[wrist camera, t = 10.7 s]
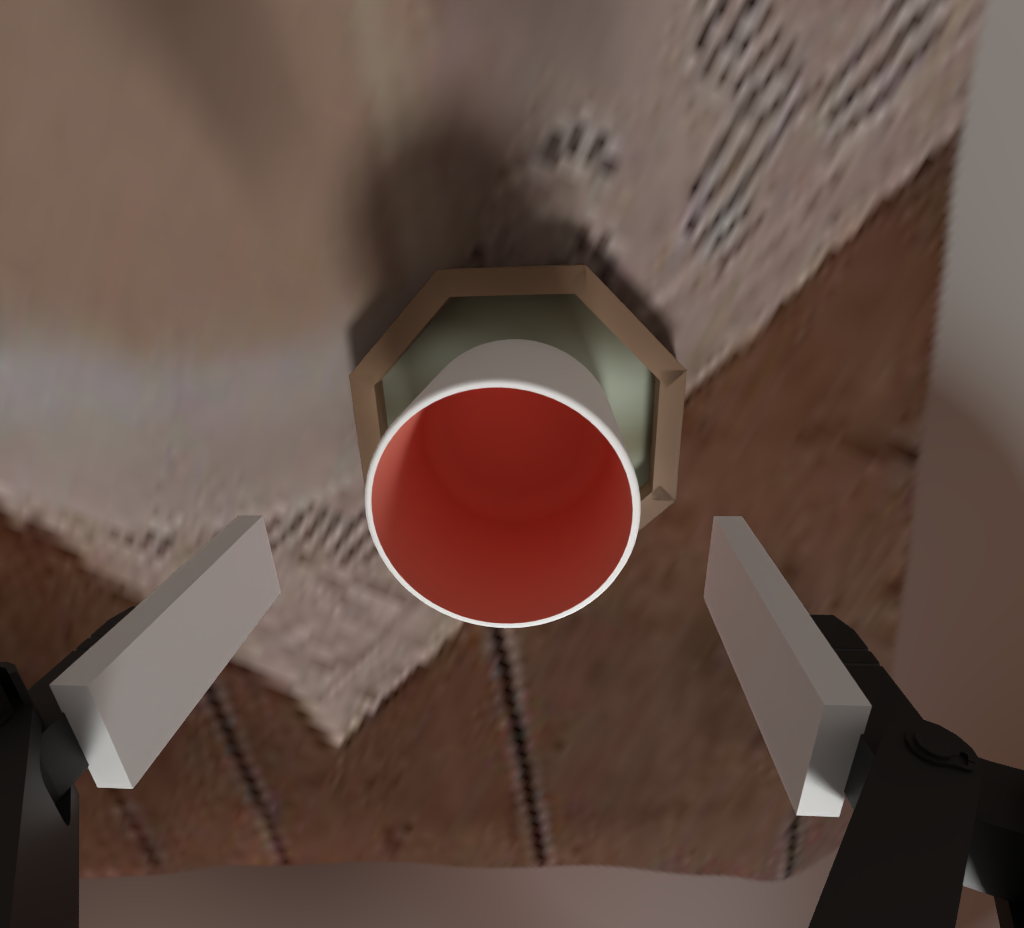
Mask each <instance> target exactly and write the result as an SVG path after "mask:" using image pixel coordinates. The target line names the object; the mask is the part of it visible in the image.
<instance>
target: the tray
mask: <svg viewBox="0 0 1024 928" xmlns="http://www.w3.org/2000/svg"><path fill="white" fill-rule="evenodd" d="M506 339H523V340H531V341H537V342H541V343H544V344H548V345H550V346H553V347H556V348H558V349H560V350H562V351H564V352H566V353H567V354H569V355H570V356H572V357H573V358H575V359H576V360H577V361H579V362H580V363H581V364H582V365H584V366H585V367H586V368H587V369H588V370H589V371H590V372H591V374H592V375H593V376H594V377H595V378H596V380H597V381H598V382H599V384H600V385H601V387H602V389H603V391H604V392H605V394H606V396H607V399H608V401H609V403H610V406H611V409H612V411H613V414H614V417H615V419H616V422H617V424H618V427H619V430H620V432H621V435H622V438H623V440H624V443H625V446H626V448H627V451H628V454H629V456H630V459H631V462H632V464H633V467H634V470H635V473H636V477H637V480H638V485H639V491H640V502H641V514H640V523H639V529H638V531H639V530H640V529H641V528H643V527H644V526H645V525H646V524H648V523H649V522H650V521H651V520H652V519H654V518H655V517H656V516H657V515H658V514H660V513H661V512H662V511H663V510H664V509H666V508H667V507H668V506H669V505H671V504H672V503H673V502H674V501H676V489H677V478H678V466H679V454H680V443H681V431H682V419H683V408H684V396H685V385H686V373H687V370H686V369H685V368H684V367H683V366H682V365H681V364H680V363H679V362H678V361H677V360H676V359H675V357H674V356H673V355H672V354H671V353H670V352H669V351H668V350H667V349H666V348H665V347H664V346H663V345H662V344H661V343H660V342H659V341H658V340H657V339H656V338H655V337H654V336H653V335H652V333H651V332H650V331H649V330H648V329H647V328H646V327H645V326H644V325H643V324H642V323H641V322H640V321H639V320H638V319H637V318H636V317H635V316H634V315H633V314H632V313H631V312H630V310H629V309H628V308H627V307H626V306H625V305H624V304H623V303H622V302H621V301H620V300H619V299H618V298H617V297H616V296H615V295H614V294H613V293H612V292H611V291H610V290H609V289H608V288H607V286H606V285H605V284H604V283H603V282H602V281H601V280H600V279H599V278H598V277H597V276H596V275H595V274H594V273H593V272H592V271H591V270H590V269H589V268H588V267H587V266H586V265H585V264H575V265H544V266H512V267H480V268H448V269H439V270H436V271H435V273H434V274H433V275H432V276H431V278H430V279H429V280H428V281H427V282H426V284H425V285H424V286H423V287H422V288H421V290H420V291H419V292H418V293H417V294H416V296H415V297H414V298H413V299H412V300H411V302H410V303H409V304H408V305H407V306H406V308H405V309H404V310H403V311H402V312H401V314H400V315H399V316H398V317H397V319H396V320H395V321H394V322H393V323H392V325H391V326H390V327H389V328H388V329H387V331H386V332H385V333H384V334H383V335H382V337H381V338H380V339H379V340H378V341H377V343H376V344H375V345H374V346H373V347H372V349H371V350H370V351H369V352H368V354H367V355H366V356H365V357H364V358H363V360H362V361H361V362H360V363H359V364H358V366H357V367H356V368H355V369H354V370H353V372H352V373H351V374H350V375H349V378H350V385H351V392H352V400H353V407H354V414H355V421H356V428H357V435H358V442H359V449H360V457H361V464H362V471H363V478H364V485H365V484H366V478H367V472H368V469H369V465H370V462H371V459H372V456H373V454H374V451H375V449H376V447H377V445H378V443H379V441H380V440H381V438H382V436H383V435H384V433H385V432H386V430H387V429H388V428H389V427H390V425H391V424H392V423H393V422H394V421H395V419H396V418H397V417H398V416H399V415H400V414H401V413H402V412H403V411H404V410H405V409H406V408H407V407H408V406H409V405H410V404H411V403H412V402H413V400H414V399H415V398H416V397H417V396H418V395H419V394H420V393H421V392H422V391H423V390H424V389H425V388H426V387H427V386H428V385H429V384H430V382H431V381H432V380H433V379H434V378H435V377H436V376H437V375H438V374H439V373H440V372H441V371H442V370H443V369H444V368H445V367H446V366H447V365H448V364H449V363H450V362H451V361H453V360H454V359H455V358H457V357H458V356H460V355H461V354H463V353H464V352H466V351H468V350H470V349H472V348H474V347H477V346H479V345H482V344H485V343H489V342H493V341H498V340H506Z"/></svg>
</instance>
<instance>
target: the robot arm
mask: <svg viewBox="0 0 1024 928" xmlns="http://www.w3.org/2000/svg"><path fill="white" fill-rule="evenodd" d="M280 593H281V591H280V586H279V582H278V578H277V574H276V569H275V565H274V561H273V557H272V553H271V548H270V544H269V540H268V536H267V532H266V527H265V523H264V519H263V516H237V517H236V518H235V519H234V520H233V521H231V522H230V523H229V524H228V525H227V526H226V527H225V528H224V529H223V530H221V531H220V532H219V533H218V534H217V535H216V536H215V537H214V538H213V539H211V540H210V541H209V542H208V543H207V544H206V545H205V546H204V547H202V548H201V549H200V550H199V551H198V552H197V553H196V554H195V555H194V556H192V557H191V558H190V559H189V560H188V561H187V562H186V563H185V564H183V565H182V566H181V567H180V568H179V569H178V570H177V571H176V572H175V573H173V574H172V575H171V576H170V577H169V578H168V579H167V580H166V581H165V582H163V583H162V584H161V585H160V586H159V587H158V588H157V589H156V590H154V591H153V592H152V593H151V594H150V595H149V596H148V597H147V598H146V599H144V600H143V601H142V602H141V603H140V604H139V605H138V606H137V607H135V606H132V607H130V608H129V609H127V610H125V611H123V612H122V613H120V614H118V615H116V616H115V617H113V618H111V619H109V620H108V621H107V622H106V623H105V624H104V625H102V626H101V627H100V628H99V629H98V630H97V631H95V632H94V633H93V634H92V635H91V638H87V639H86V640H85V641H84V642H83V643H82V644H81V645H79V646H78V647H77V650H76V651H72V652H71V653H70V654H69V655H68V656H67V657H66V658H64V659H63V660H62V661H61V662H60V663H59V664H58V665H56V666H55V667H54V668H53V669H52V670H51V671H49V672H48V673H47V674H46V675H45V676H44V677H43V678H41V679H40V680H39V681H38V682H37V683H36V684H35V685H33V686H32V687H31V688H30V689H29V690H27V688H26V686H25V684H24V682H23V680H22V678H21V676H20V674H19V672H18V670H17V668H16V666H15V665H14V664H11V663H9V662H0V928H79V794H78V791H77V789H76V787H75V785H74V782H75V781H76V780H77V779H78V778H79V776H80V775H81V774H82V773H83V772H84V771H85V770H86V768H87V767H88V768H89V770H90V772H91V774H92V776H93V779H94V781H95V783H96V785H97V787H102V788H127V789H133V788H134V787H135V785H136V784H137V783H138V781H139V780H140V779H141V777H142V776H143V775H144V773H145V772H146V771H147V769H148V768H149V767H150V765H151V764H152V763H153V761H154V760H155V759H156V757H157V756H158V755H159V753H160V752H161V751H162V750H163V748H164V747H165V746H166V744H167V743H168V742H169V740H170V739H171V738H172V736H173V735H174V734H175V732H176V731H177V730H178V728H179V727H180V726H181V724H182V723H183V722H184V720H185V719H186V718H187V716H188V715H189V714H190V712H191V711H192V710H193V708H194V707H195V706H196V704H197V703H198V702H199V700H200V699H201V698H202V697H203V695H204V694H205V693H206V691H207V690H208V689H209V687H210V686H211V685H212V683H213V682H214V681H215V679H216V678H217V677H218V675H219V674H220V673H221V671H222V670H223V669H224V667H225V666H226V665H227V663H228V662H229V661H230V659H231V658H232V657H233V655H234V654H235V653H236V651H237V650H238V649H239V647H240V646H241V645H242V644H243V642H244V641H245V640H246V638H247V637H248V636H249V634H250V633H251V632H252V630H253V629H254V628H255V626H256V625H257V624H258V622H259V621H260V620H261V618H262V617H263V616H264V614H265V613H266V612H267V610H268V609H269V608H270V606H271V605H272V604H273V602H274V601H275V600H276V598H277V597H278V596H279V595H280ZM704 600H705V602H706V604H707V607H708V609H709V611H710V614H711V616H712V618H713V621H714V623H715V625H716V628H717V630H718V632H719V635H720V637H721V640H722V642H723V644H724V647H725V649H726V651H727V654H728V656H729V658H730V661H731V663H732V665H733V668H734V670H735V672H736V675H737V677H738V679H739V682H740V684H741V686H742V689H743V691H744V693H745V696H746V698H747V701H748V703H749V705H750V708H751V710H752V712H753V715H754V717H755V719H756V722H757V724H758V726H759V729H760V731H761V733H762V736H763V738H764V740H765V743H766V745H767V747H768V750H769V752H770V755H771V757H772V759H773V762H774V764H775V766H776V769H777V771H778V773H779V776H780V778H781V780H782V783H783V785H784V787H785V790H786V792H787V794H788V797H789V799H790V801H791V804H792V806H793V808H794V811H795V813H796V815H804V816H829V817H839V815H840V812H841V808H842V805H843V801H844V798H845V795H846V796H847V798H848V800H849V802H850V804H851V806H852V808H853V810H854V812H853V814H852V817H851V819H850V822H849V824H848V827H847V830H846V832H845V835H844V837H843V840H842V842H841V845H840V848H839V850H838V853H837V855H836V858H835V860H834V863H833V866H832V868H831V871H830V873H829V876H828V879H827V881H826V884H825V886H824V889H823V891H822V894H821V896H820V899H819V902H818V904H817V907H816V909H815V912H814V914H813V917H812V920H811V922H810V925H809V927H808V928H955V925H956V920H957V913H958V908H959V903H960V898H961V892H962V887H963V886H966V887H969V888H972V889H975V890H977V891H981V892H983V893H986V894H989V895H992V896H994V899H995V903H996V909H997V913H998V919H999V923H1000V928H1024V770H1021V769H1017V768H1013V767H1009V766H1006V765H1002V764H998V763H995V762H991V761H988V760H985V759H982V758H979V757H978V756H977V755H976V753H975V752H974V750H973V749H972V748H971V747H970V746H969V745H968V744H967V743H965V742H964V741H963V740H962V739H961V738H960V737H958V736H957V735H956V734H954V733H952V732H950V731H949V730H947V729H945V728H943V727H942V726H940V725H937V724H934V723H931V722H929V721H926V720H923V718H922V717H921V716H920V715H919V713H918V712H917V711H916V709H915V708H914V707H913V706H912V704H911V703H910V702H909V700H908V699H907V698H906V696H905V695H904V694H903V693H902V691H901V690H900V689H899V687H898V686H897V685H896V684H895V682H894V681H893V680H892V678H891V677H890V676H889V674H888V673H887V672H886V671H885V669H884V668H883V667H882V666H880V665H879V662H878V660H877V659H876V658H875V656H874V655H873V654H872V652H869V651H868V647H867V646H866V645H865V643H864V642H863V641H862V640H861V638H860V637H859V636H858V634H857V633H856V632H855V630H853V629H852V628H850V627H849V626H848V625H846V624H845V623H843V622H842V621H841V620H839V619H838V618H837V617H835V616H834V615H809V613H808V612H807V611H806V609H805V608H804V606H803V605H802V603H801V602H800V600H799V599H798V597H797V596H796V594H795V593H794V592H793V590H792V589H791V587H790V586H789V584H788V583H787V581H786V580H785V578H784V577H783V576H782V574H781V573H780V571H779V570H778V568H777V567H776V565H775V564H774V562H773V561H772V560H771V558H770V557H769V555H768V554H767V552H766V551H765V549H764V548H763V546H762V545H761V544H760V542H759V541H758V539H757V538H756V536H755V535H754V533H753V532H752V530H751V529H750V527H749V526H748V525H747V523H746V522H745V520H744V519H743V517H742V516H714V519H713V527H712V535H711V543H710V551H709V559H708V567H707V575H706V583H705V591H704Z"/></svg>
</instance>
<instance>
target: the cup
mask: <svg viewBox="0 0 1024 928" xmlns="http://www.w3.org/2000/svg"><path fill="white" fill-rule="evenodd" d="M365 510H366V517H367V522H368V527H369V530H370V533H371V536H372V539H373V542H374V544H375V546H376V548H377V550H378V552H379V554H380V556H381V558H382V559H383V561H384V563H385V564H386V566H387V567H388V569H389V570H390V571H391V572H392V574H393V575H394V576H395V577H396V579H397V580H398V581H399V582H400V583H401V584H402V585H403V586H404V587H405V588H406V589H407V590H408V591H410V592H411V593H412V594H413V595H415V596H416V597H417V598H418V599H420V600H421V601H423V602H424V603H426V604H427V605H429V606H430V607H432V608H434V609H436V610H438V611H440V612H441V613H444V614H446V615H448V616H451V617H453V618H456V619H459V620H462V621H465V622H469V623H473V624H477V625H482V626H488V627H498V628H517V627H528V626H534V625H539V624H544V623H547V622H551V621H554V620H557V619H560V618H563V617H565V616H567V615H569V614H571V613H574V612H575V611H577V610H579V609H581V608H583V607H584V606H586V605H587V604H589V603H590V602H592V601H593V600H594V599H595V598H597V597H598V596H599V595H600V594H601V593H602V592H604V591H605V590H606V589H607V588H608V587H609V586H610V584H611V583H612V582H613V581H614V580H615V578H616V577H617V576H618V574H619V573H620V571H621V570H622V568H623V567H624V566H625V564H626V562H627V560H628V558H629V556H630V554H631V552H632V549H633V547H634V544H635V541H636V537H637V533H638V529H639V523H640V514H641V502H640V491H639V485H638V480H637V477H636V473H635V470H634V467H633V464H632V462H631V459H630V456H629V454H628V451H627V448H626V446H625V443H624V440H623V438H622V435H621V432H620V430H619V427H618V424H617V422H616V419H615V417H614V414H613V411H612V409H611V406H610V403H609V401H608V399H607V396H606V394H605V392H604V391H603V389H602V387H601V385H600V384H599V382H598V381H597V380H596V378H595V377H594V376H593V375H592V374H591V372H590V371H589V370H588V369H587V368H586V367H585V366H584V365H582V364H581V363H580V362H579V361H577V360H576V359H575V358H573V357H572V356H570V355H569V354H567V353H566V352H564V351H562V350H560V349H558V348H556V347H553V346H550V345H548V344H544V343H541V342H537V341H531V340H523V339H506V340H498V341H493V342H489V343H485V344H482V345H479V346H477V347H474V348H472V349H470V350H468V351H466V352H464V353H463V354H461V355H460V356H458V357H457V358H455V359H454V360H453V361H451V362H450V363H449V364H448V365H447V366H446V367H445V368H444V369H443V370H442V371H441V372H440V373H439V374H438V375H437V376H436V377H435V378H434V379H433V380H432V381H431V382H430V384H429V385H428V386H427V387H426V388H425V389H424V390H423V391H422V392H421V393H420V394H419V395H418V396H417V397H416V398H415V399H414V400H413V402H412V403H411V404H410V405H409V406H408V407H407V408H406V409H405V410H404V411H403V412H402V413H401V414H400V415H399V416H398V417H397V418H396V419H395V421H394V422H393V423H392V424H391V425H390V427H389V428H388V429H387V430H386V432H385V433H384V435H383V436H382V438H381V440H380V441H379V443H378V445H377V447H376V449H375V451H374V454H373V456H372V459H371V462H370V465H369V469H368V472H367V478H366V484H365Z"/></svg>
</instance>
